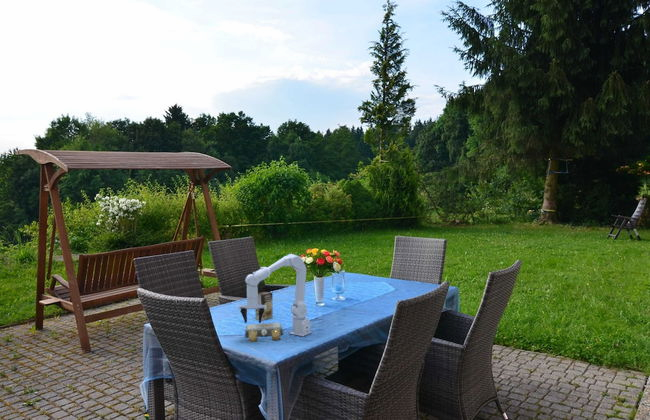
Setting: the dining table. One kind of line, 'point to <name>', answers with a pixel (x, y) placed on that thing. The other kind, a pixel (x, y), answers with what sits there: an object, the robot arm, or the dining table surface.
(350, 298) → the dining table surface
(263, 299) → the coffee box
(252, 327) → the scale
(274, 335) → the cylinder
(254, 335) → the cylinder
